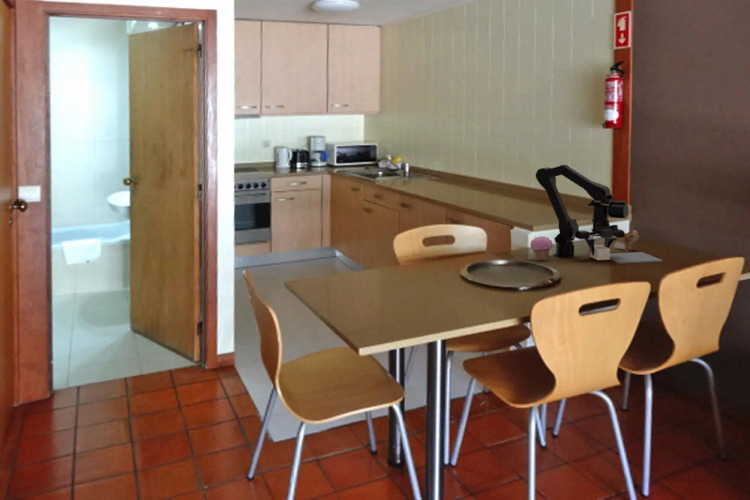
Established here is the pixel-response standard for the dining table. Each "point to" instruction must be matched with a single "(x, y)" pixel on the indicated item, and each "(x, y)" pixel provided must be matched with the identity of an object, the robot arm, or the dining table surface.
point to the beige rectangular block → (600, 252)
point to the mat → (633, 258)
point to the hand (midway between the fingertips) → (599, 254)
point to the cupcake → (541, 247)
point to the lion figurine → (627, 239)
